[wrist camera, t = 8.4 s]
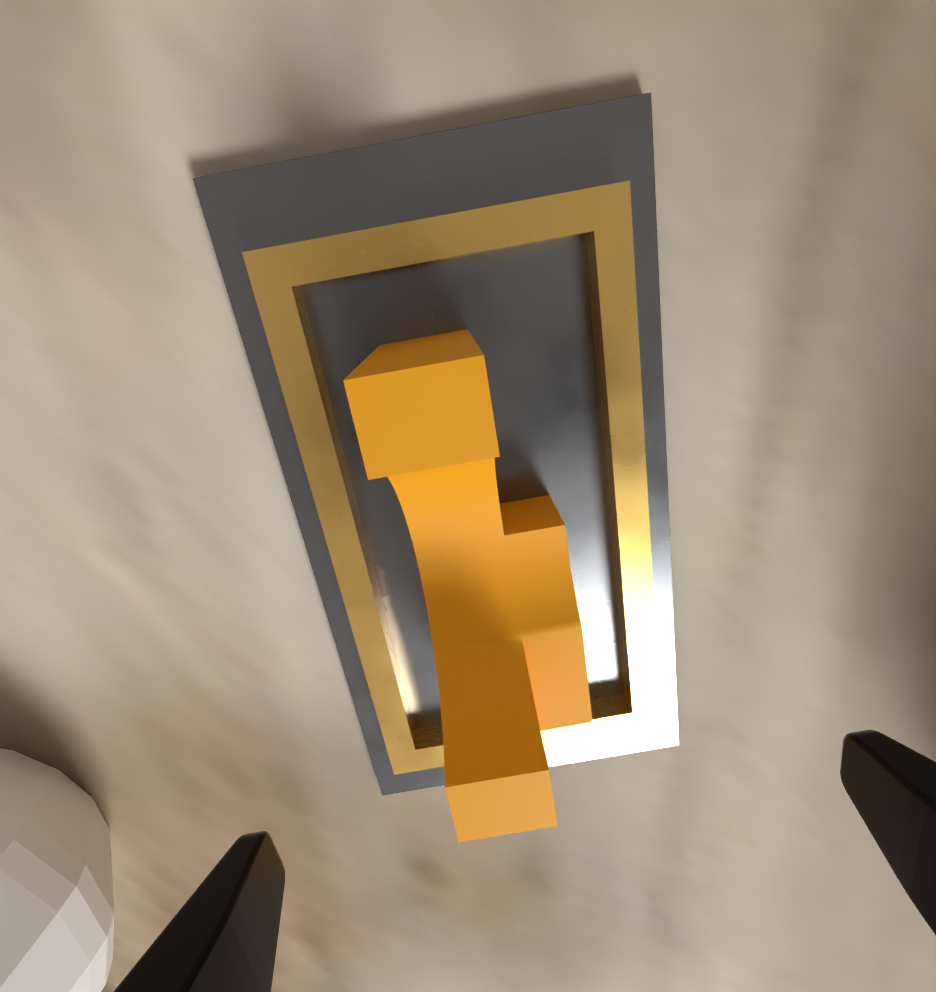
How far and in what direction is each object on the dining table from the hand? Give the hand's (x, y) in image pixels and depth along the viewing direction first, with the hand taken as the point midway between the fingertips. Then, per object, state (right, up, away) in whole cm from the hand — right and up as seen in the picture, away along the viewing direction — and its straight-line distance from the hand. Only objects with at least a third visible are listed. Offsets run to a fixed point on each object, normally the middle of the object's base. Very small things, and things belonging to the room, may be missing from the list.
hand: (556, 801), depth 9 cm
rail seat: (-1, +4, +10) cm, 11 cm away
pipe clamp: (-1, +4, +10) cm, 11 cm away
